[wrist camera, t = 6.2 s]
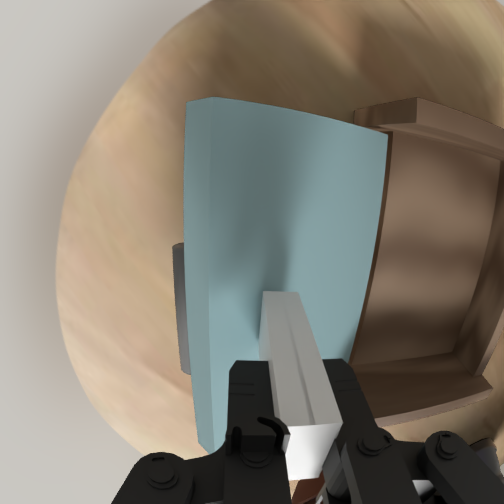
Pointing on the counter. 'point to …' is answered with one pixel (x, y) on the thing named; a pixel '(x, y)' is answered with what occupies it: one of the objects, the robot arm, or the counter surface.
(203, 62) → the counter surface
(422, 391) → the drawer box
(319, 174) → the pale blue slab
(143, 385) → the counter surface
